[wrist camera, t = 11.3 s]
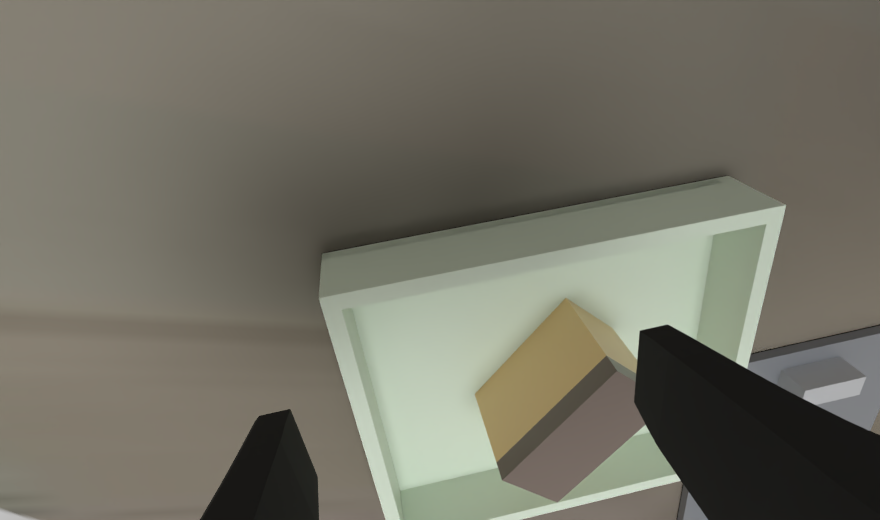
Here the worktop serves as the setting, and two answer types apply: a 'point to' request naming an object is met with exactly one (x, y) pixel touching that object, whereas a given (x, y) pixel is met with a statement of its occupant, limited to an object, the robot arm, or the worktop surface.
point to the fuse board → (820, 382)
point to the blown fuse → (560, 403)
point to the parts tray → (531, 329)
